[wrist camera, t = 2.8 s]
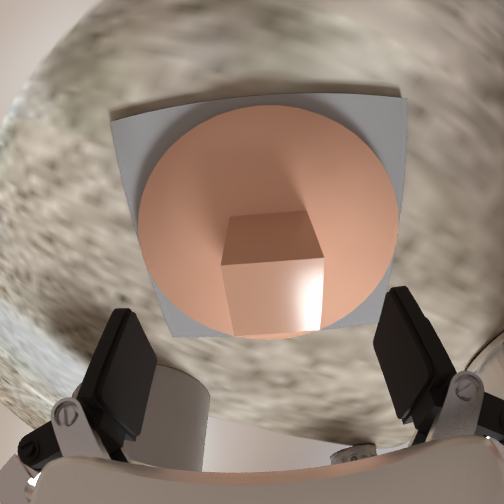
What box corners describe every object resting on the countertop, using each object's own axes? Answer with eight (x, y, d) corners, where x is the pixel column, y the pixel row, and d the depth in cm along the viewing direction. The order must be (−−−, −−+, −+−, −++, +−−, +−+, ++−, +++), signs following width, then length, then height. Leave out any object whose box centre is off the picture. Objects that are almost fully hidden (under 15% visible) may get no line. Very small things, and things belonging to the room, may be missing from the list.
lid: (398, 106, 13) (459, 120, 8) (374, 318, 20) (396, 376, 16) (118, 128, 13) (60, 152, 9) (177, 332, 21) (161, 392, 16)
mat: (402, 97, 13) (406, 98, 12) (376, 317, 21) (378, 323, 20) (114, 120, 14) (110, 121, 13) (173, 331, 22) (172, 337, 21)
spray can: (317, 458, 39) (325, 558, 22) (352, 441, 35) (367, 553, 18) (351, 459, 41) (361, 549, 24) (384, 443, 37) (401, 540, 20)
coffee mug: (229, 398, 27) (223, 486, 19) (172, 418, 31) (160, 489, 22) (120, 327, 22) (79, 429, 14) (79, 362, 26) (47, 438, 17)
